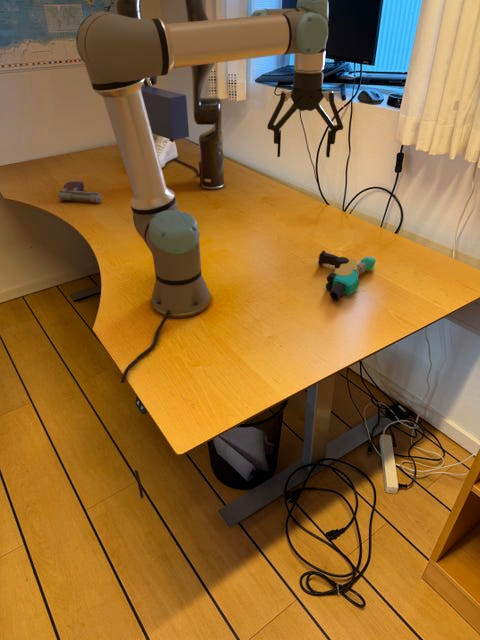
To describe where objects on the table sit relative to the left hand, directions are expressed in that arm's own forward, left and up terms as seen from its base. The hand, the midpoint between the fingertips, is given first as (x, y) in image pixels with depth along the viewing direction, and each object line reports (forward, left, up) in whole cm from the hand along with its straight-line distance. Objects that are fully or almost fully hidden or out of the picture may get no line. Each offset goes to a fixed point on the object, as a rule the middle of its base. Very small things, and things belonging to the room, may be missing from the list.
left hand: (303, 155), depth 133 cm
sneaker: (+79, +62, -29) cm, 105 cm away
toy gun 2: (-19, -11, -29) cm, 36 cm away
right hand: (+23, +51, +9) cm, 57 cm away
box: (+17, +44, +2) cm, 48 cm away
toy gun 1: (+39, +82, -29) cm, 95 cm away
